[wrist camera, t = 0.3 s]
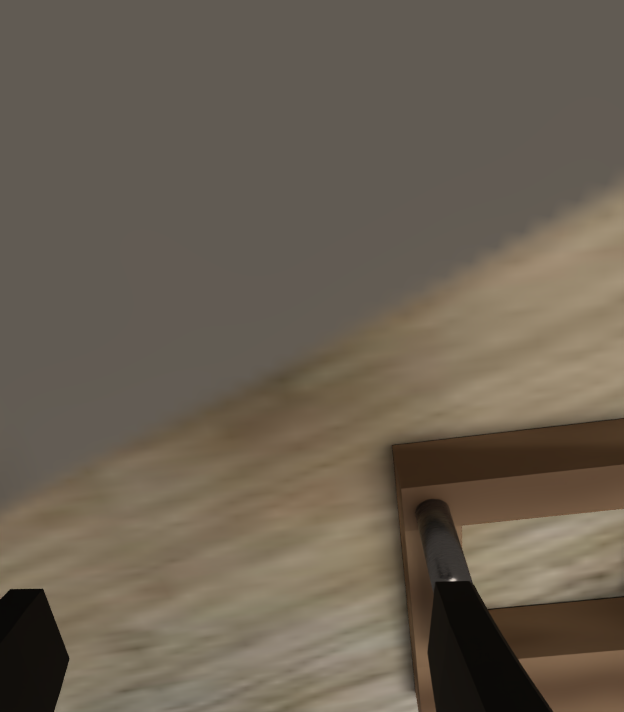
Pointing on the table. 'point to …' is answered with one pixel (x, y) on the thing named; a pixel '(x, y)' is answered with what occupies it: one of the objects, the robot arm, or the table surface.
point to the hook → (440, 543)
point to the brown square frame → (514, 502)
